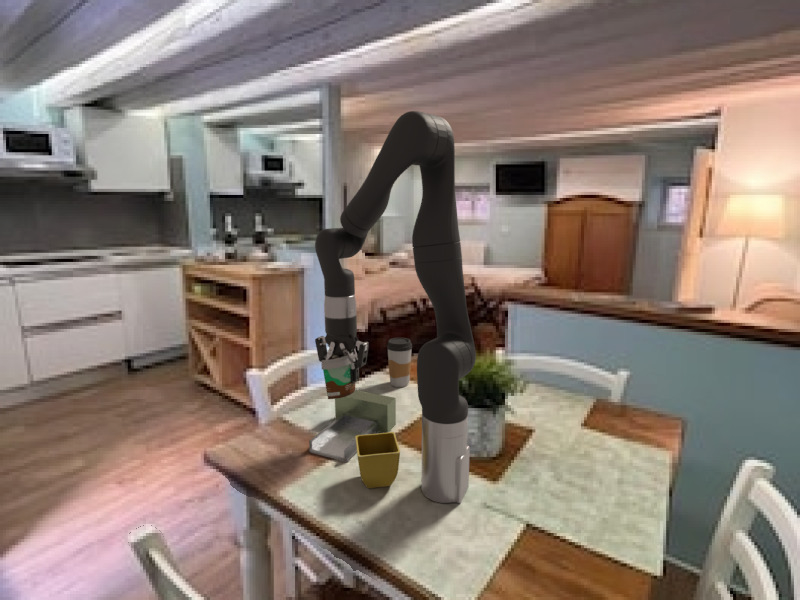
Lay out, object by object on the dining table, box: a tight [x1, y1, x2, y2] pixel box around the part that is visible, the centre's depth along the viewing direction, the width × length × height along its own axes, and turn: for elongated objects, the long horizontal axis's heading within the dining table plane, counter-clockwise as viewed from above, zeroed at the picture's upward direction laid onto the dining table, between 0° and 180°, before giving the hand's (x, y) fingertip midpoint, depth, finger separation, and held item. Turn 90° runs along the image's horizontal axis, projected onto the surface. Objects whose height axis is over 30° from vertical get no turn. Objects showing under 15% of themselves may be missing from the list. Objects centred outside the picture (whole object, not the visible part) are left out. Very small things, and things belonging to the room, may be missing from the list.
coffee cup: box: [386, 337, 413, 388], centre depth 147 cm, size 8×8×15 cm
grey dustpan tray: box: [308, 389, 397, 463], centre depth 114 cm, size 16×21×8 cm
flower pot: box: [355, 431, 401, 489], centre depth 95 cm, size 9×9×9 cm
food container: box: [320, 352, 356, 400], centre depth 108 cm, size 12×6×10 cm, turn 166°
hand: (342, 380), depth 109 cm, fingers closed on food container, 5 cm apart
